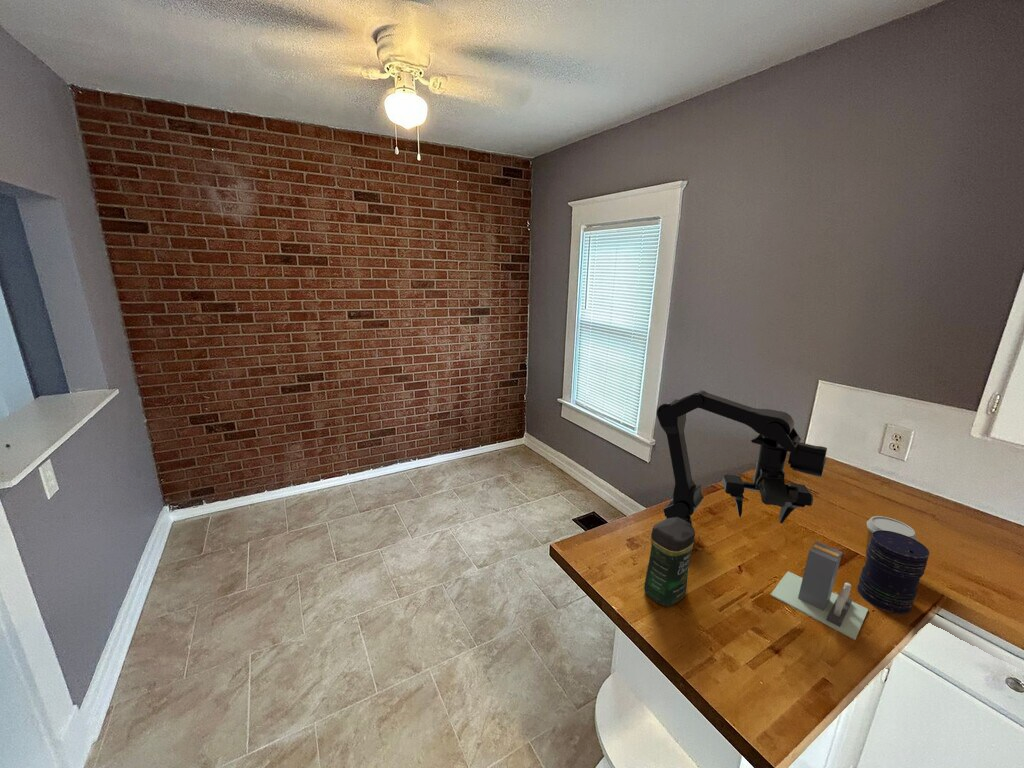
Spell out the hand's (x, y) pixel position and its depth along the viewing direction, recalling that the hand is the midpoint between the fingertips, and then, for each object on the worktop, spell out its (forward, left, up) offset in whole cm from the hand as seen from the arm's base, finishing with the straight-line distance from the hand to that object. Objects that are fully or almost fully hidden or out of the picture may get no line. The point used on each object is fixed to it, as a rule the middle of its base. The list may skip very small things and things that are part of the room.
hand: (759, 519), depth 106 cm
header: (+11, -10, -13) cm, 20 cm away
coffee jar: (-22, -18, -13) cm, 31 cm away
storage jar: (+27, -4, -13) cm, 30 cm away
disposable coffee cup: (+32, +9, -13) cm, 36 cm away
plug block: (+11, -10, -13) cm, 19 cm away
